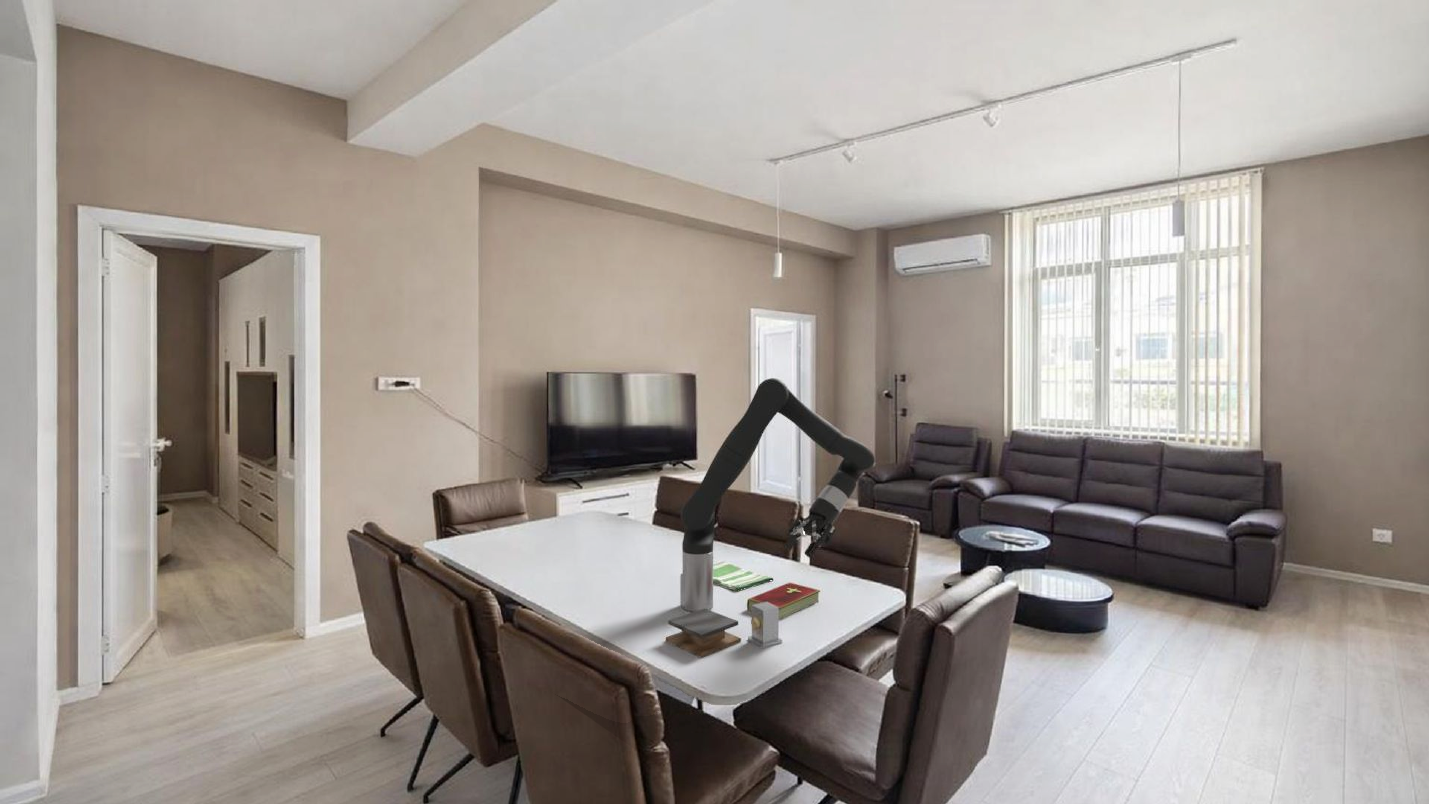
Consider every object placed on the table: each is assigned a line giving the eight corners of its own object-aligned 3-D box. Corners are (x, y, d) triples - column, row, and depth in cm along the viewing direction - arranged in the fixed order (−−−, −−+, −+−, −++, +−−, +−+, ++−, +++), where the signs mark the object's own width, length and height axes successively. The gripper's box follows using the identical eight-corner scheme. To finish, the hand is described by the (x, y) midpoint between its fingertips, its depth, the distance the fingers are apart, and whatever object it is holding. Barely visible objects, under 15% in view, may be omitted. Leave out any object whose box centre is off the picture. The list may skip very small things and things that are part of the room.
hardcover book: (747, 611, 197) (747, 597, 197) (788, 594, 212) (788, 581, 212) (779, 621, 189) (779, 607, 189) (820, 602, 204) (820, 589, 204)
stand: (665, 640, 174) (665, 620, 174) (704, 626, 184) (704, 607, 183) (701, 657, 164) (701, 635, 164) (740, 641, 173) (740, 621, 173)
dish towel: (736, 594, 213) (736, 585, 212) (689, 577, 230) (689, 569, 230) (773, 582, 225) (773, 574, 225) (725, 567, 242) (725, 559, 242)
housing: (747, 640, 175) (747, 605, 174) (767, 634, 178) (767, 600, 178) (761, 648, 169) (761, 612, 169) (782, 642, 173) (782, 607, 172)
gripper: (804, 493, 189) (773, 538, 184) (839, 501, 177) (806, 549, 172) (818, 509, 192) (788, 554, 187) (853, 518, 180) (821, 566, 175)
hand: (796, 552), depth 179 cm, fingers open, 8 cm apart
